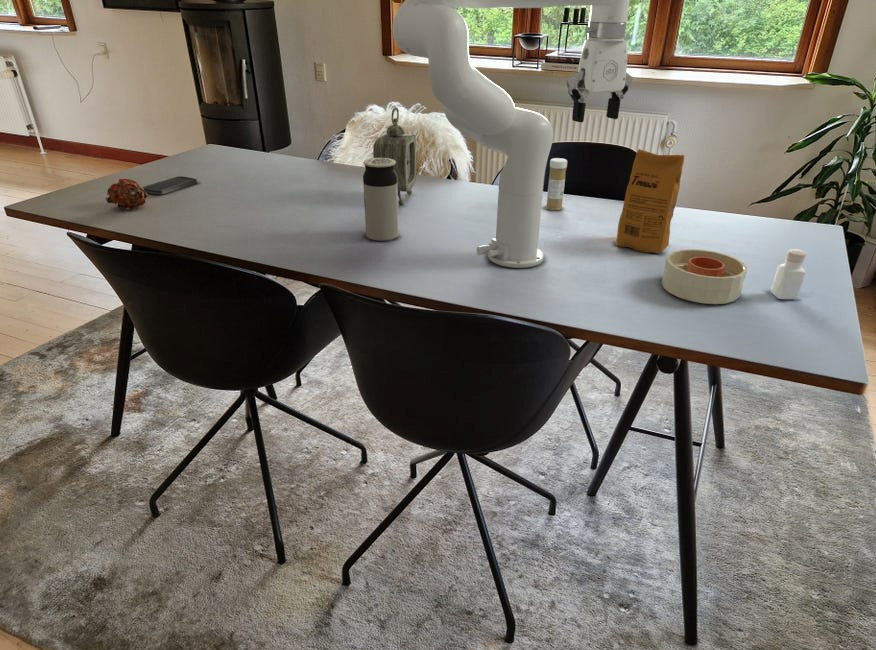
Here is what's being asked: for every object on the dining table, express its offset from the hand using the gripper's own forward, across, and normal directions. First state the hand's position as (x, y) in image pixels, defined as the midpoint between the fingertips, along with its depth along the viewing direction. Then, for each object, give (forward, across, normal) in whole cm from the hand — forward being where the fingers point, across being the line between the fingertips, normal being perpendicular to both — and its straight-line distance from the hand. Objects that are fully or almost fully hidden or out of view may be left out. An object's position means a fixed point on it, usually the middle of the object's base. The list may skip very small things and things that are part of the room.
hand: (595, 119), depth 138 cm
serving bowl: (+28, +4, -34) cm, 44 cm away
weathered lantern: (+28, -26, +51) cm, 64 cm away
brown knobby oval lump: (+28, -94, +75) cm, 124 cm away
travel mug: (+28, -41, +25) cm, 56 cm away
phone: (+28, -81, +91) cm, 125 cm away
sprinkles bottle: (+28, +11, +24) cm, 39 cm away
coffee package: (+28, +12, -9) cm, 32 cm away
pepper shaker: (+28, +18, -44) cm, 55 cm away
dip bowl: (+28, +4, -34) cm, 44 cm away
